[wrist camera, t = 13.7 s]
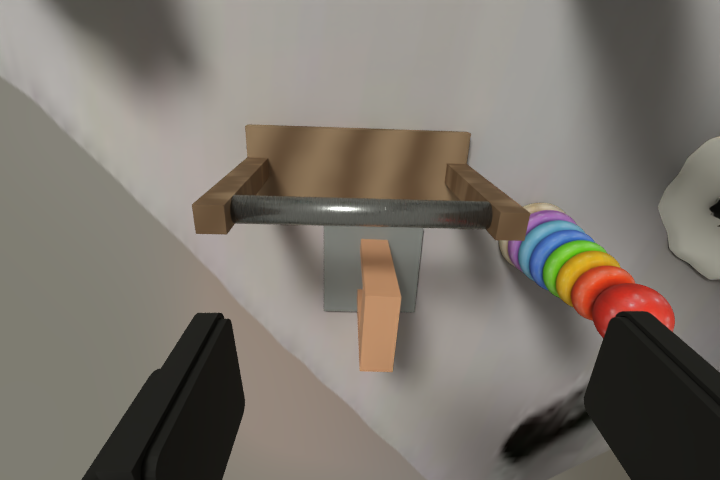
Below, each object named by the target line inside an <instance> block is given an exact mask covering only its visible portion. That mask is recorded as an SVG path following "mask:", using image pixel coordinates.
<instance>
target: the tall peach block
mask: <svg viewBox="0 0 720 480" xmlns="http://www.w3.org/2000/svg"><path fill="white" fill-rule="evenodd" d="M360 257H361V270H362V284H363V289H358V290H357V316H358V340H359V364H360V371H373V372H393V363H394V355H395V346H396V338H397V330H398V321H399V313H400V305H401V293H400V289H399V285H398V281H397V277H396V273H395V268H394V264H393V260H392V256H391V252H390V248H389V244H388V240H377V239H361V245H360Z"/></svg>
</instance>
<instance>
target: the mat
mask: <svg viewBox="0 0 720 480" xmlns="http://www.w3.org/2000/svg"><path fill="white" fill-rule="evenodd" d="M422 236H423V228H409V227H366V226H324V311H351V312H357V290H358V289H363V284H362V270H361V257H360V245H361V239H377V240H388V244H389V248H390V252H391V256H392V260H393V264H394V268H395V273H396V277H397V281H398V285H399V289H400V293H401V305H400V312H414V309H415V300H416V291H417V282H418V273H419V264H420V255H421V245H422Z"/></svg>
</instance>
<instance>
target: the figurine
mask: <svg viewBox="0 0 720 480" xmlns="http://www.w3.org/2000/svg"><path fill="white" fill-rule="evenodd" d="M658 209H659V213H660V216H661V219H662V222H663V224H664V226H665V228H666V231H667V233H668V243H669V249H670V250H671V251H672V252H673V253H674V254H675V255H676V256H677V257H678V258H680V259H682V260H684V261H686V262H688V263H689V264H690V265H691V266H692V267H694V268H695V269H696V270H697V271H698V272H699V273H700V274H702V275H703V276H705V277H706V278H708V279H709V280H715V279H720V136H718V137H715V138H712V139H710V140H708V141H706V142H705V143H704V144H703V145H702V146H701V147H699V148H698V149H697V150H696V151H695V152H694V153H693V154H691V155H690V156H689V157H688V158H687V160H686V162H685V164H684V166H683V167H682V169H681V171H680V173H679V174H678V175H677V176H676V178H675V179H674V180H673V181H672V182H671V183H670V184H669V186H668V187H667V188H666V189H665V191H664V193H663V196H662V198H661V200H660V203H659V205H658Z"/></svg>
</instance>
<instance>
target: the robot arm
mask: <svg viewBox="0 0 720 480" xmlns="http://www.w3.org/2000/svg"><path fill="white" fill-rule="evenodd" d="M584 405H585V408H586V411H587V413H588V414H589V416H590V417H591V419H592V420H593V422H594V424H595V425H596V427H597V428H598V430H599V431H600V433H601V434H602V436H603V437H604V439H605V440H606V442H607V444H608V445H609V447H610V448H611V450H612V451H613V453H614V454H615V456H616V457H617V459H618V460H619V462H620V463H621V465H622V467H623V468H624V470H625V471H626V473H627V474H628V476H629V477H630V479H631V480H720V373H719V372H718V371H717V370H716V369H715V368H714V367H712V366H711V365H710V364H709V363H708V362H707V361H706V360H704V359H703V358H702V357H701V356H700V355H699V354H697V353H696V352H695V351H694V350H693V349H692V348H690V347H689V346H688V345H687V344H686V343H685V342H684V341H682V340H681V339H680V338H679V337H678V336H677V335H675V334H674V333H673V332H672V331H671V330H670V329H668V328H667V327H666V326H665V325H664V324H663V323H662V322H660V321H659V320H658V319H657V318H656V317H655V316H653V315H652V314H651V313H649V312H646V311H621V312H619V313H617V314H616V316H615V317H613V318H611V319H610V321H609V323H608V326H607V329H606V332H605V335H604V338H603V341H602V344H601V347H600V350H599V353H598V357H597V360H596V363H595V366H594V369H593V372H592V375H591V378H590V381H589V384H588V387H587V390H586V393H585V396H584ZM244 406H245V399H244V392H243V386H242V380H241V375H240V369H239V363H238V357H237V352H236V346H235V341H234V334H233V329H232V324H231V320H230V319H224V316H223V314H222V313H197V314H196V315H195V316H194V317H193V319H192V321H191V322H190V324H189V325H188V327H187V329H186V330H185V331H184V333H183V335H182V336H181V338H180V339H179V341H178V342H177V344H176V346H175V347H174V349H173V350H172V352H171V353H170V355H169V357H168V358H167V360H166V361H165V363H164V365H163V366H162V368H161V369H157V370H155V371H154V372H153V373H152V374H151V375H150V376H149V378H148V380H147V381H146V383H145V384H144V385H143V387H142V389H141V390H140V392H139V393H138V395H137V396H136V398H135V399H134V401H133V402H132V404H131V406H130V407H129V408H128V410H127V411H126V413H125V414H124V416H123V417H122V419H121V421H120V422H119V424H118V425H117V427H116V428H115V430H114V431H113V433H112V434H111V436H110V437H109V439H108V440H107V442H106V443H105V445H104V446H103V448H102V449H101V451H100V453H99V454H98V456H97V457H96V459H95V460H94V462H93V463H92V465H91V466H90V468H89V469H88V471H87V472H86V474H85V475H84V477H83V478H82V480H222V478H223V475H224V472H225V469H226V466H227V462H228V459H229V456H230V454H231V451H232V447H233V444H234V441H235V438H236V435H237V432H238V429H239V425H240V423H241V420H242V416H243V413H244Z"/></svg>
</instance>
